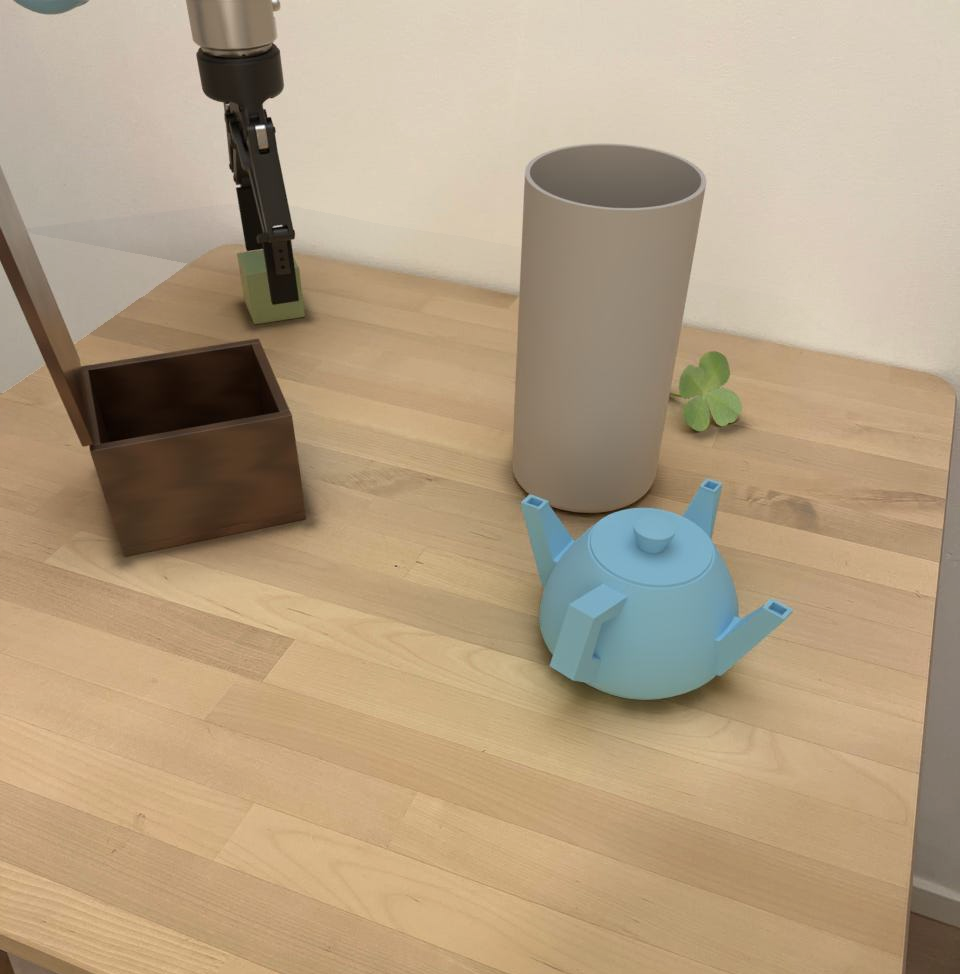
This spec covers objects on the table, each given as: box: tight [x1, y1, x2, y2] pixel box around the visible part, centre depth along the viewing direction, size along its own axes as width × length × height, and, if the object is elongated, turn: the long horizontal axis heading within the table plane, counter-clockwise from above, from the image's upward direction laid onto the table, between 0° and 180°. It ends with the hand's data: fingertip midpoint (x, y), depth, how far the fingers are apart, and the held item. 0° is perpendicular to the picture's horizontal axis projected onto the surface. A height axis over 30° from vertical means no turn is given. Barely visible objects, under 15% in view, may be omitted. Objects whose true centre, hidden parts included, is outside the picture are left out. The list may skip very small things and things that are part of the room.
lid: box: [0, 165, 93, 448], centre depth 67 cm, size 16×13×1 cm
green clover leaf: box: [669, 350, 743, 432], centre depth 91 cm, size 7×8×7 cm
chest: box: [81, 338, 307, 557], centre depth 78 cm, size 15×13×10 cm
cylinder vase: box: [511, 143, 707, 514], centre depth 76 cm, size 12×12×25 cm
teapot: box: [520, 477, 794, 701], centre depth 66 cm, size 15×15×11 cm
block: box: [236, 249, 306, 325], centre depth 103 cm, size 6×6×6 cm
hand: (271, 274), depth 102 cm, fingers open, 13 cm apart
